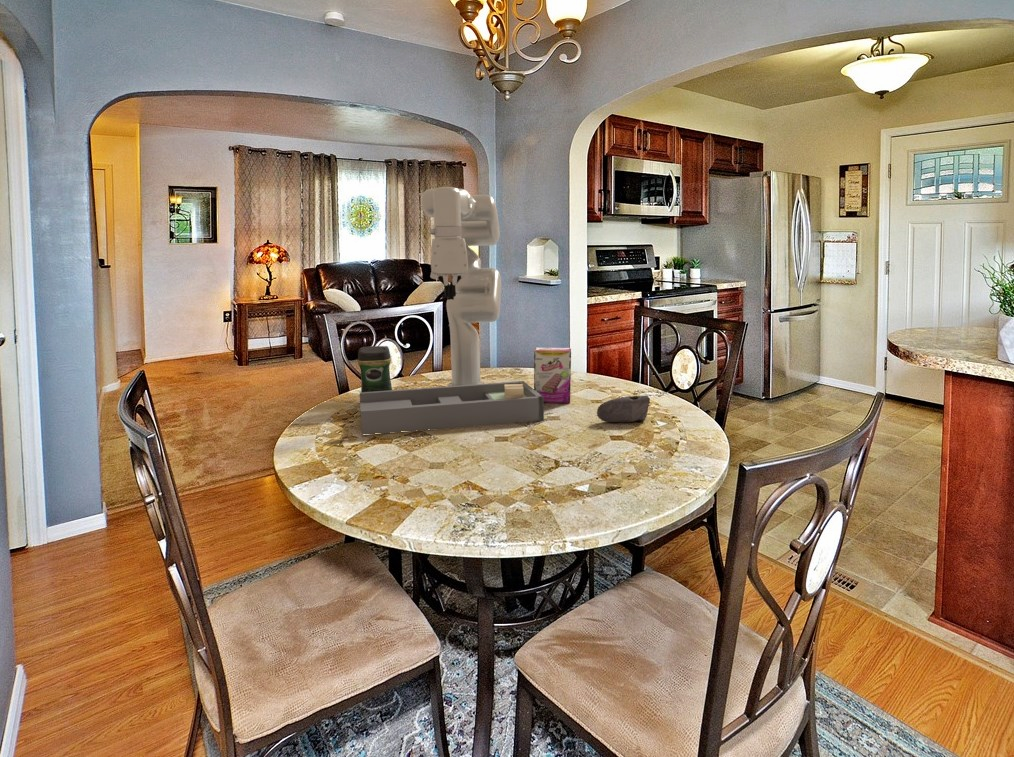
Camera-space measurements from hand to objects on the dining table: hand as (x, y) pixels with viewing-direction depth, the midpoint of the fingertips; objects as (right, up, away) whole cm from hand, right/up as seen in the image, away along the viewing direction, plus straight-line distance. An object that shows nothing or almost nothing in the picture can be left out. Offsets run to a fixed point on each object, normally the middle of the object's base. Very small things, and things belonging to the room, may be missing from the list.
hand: (450, 299), depth 177 cm
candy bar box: (+30, -30, +12) cm, 44 cm away
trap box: (0, -34, -3) cm, 34 cm away
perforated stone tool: (+48, -35, -10) cm, 60 cm away
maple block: (+18, -30, -6) cm, 35 cm away
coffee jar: (-23, -32, +9) cm, 40 cm away
